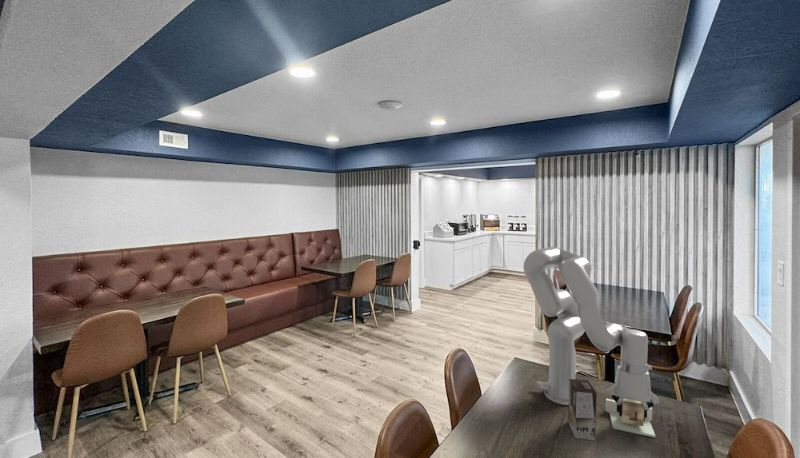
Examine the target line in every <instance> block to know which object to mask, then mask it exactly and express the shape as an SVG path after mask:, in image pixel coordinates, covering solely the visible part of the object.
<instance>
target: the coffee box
mask: <svg viewBox="0 0 800 458" xmlns="http://www.w3.org/2000/svg"><path fill="white" fill-rule="evenodd" d="M597 394H598V393H597V391H596V390H595V389H594V387H593V386H592V384H591V383H590V382H589V380H588V379H583V378H582V379H580V378H575V379H569V401H568V405H567V406H568V408H567V409H568V411H567V412H568V414H567V415H568V417H567V423H568V425H569V426H570V429H571V432H572V433H573V437H574V438H576V439H580V440H581V439H582V440H589V441H595V440H596V419H597V396H598V395H597Z"/></svg>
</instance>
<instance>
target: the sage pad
mask: <svg viewBox="0 0 800 458" xmlns="http://www.w3.org/2000/svg"><path fill="white" fill-rule="evenodd" d="M609 417H610V423H611V426H612V427H611V428H612V429H614V430H619V431H624V432H627V433H632V434H637V435H642V436H646V437H650V438H656V434H655V431H654V429H653V426H652V424H651V421H649V420H648V419H645V421H644V424H643V426H639V425H634V424H629V423H625V422H622V419H621V416H620V415H619V414H618V413H613V412H610V413H609Z"/></svg>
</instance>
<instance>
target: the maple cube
mask: <svg viewBox="0 0 800 458" xmlns="http://www.w3.org/2000/svg"><path fill="white" fill-rule="evenodd" d="M621 419H622V422H625V423H629V424H634V425H639V426H643V424H644V408H643V404H642V402H641V401H635V400H630V399H625V398H624V399H623V401H622V416H621Z"/></svg>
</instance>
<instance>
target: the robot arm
mask: <svg viewBox="0 0 800 458" xmlns="http://www.w3.org/2000/svg"><path fill="white" fill-rule="evenodd" d="M523 262H524V263H523V272H524V276H525V277H526V280H527V281H528V283H529V285H530V288H531V290H532V292H533V295H534V297H535V299H536V302H537V304H538V306H539V308H540V310H541V312H542V313H543V315H545V317H549V318H551V317H552V318H553V317H556V316H557V319H555V320H553V321H552V322H551V323H550V324H549V326H548V329H547V338H548V346H549V347H548V349H549V351H548V352H549V355H548V356H549V357H548V359H549V361H548V362H549V363H548V380H547V381H545V382H543V381H539V380H538V381H536V387H539V390H544V396H545V397H546V398H547V400H549V401H552V402H553V403H555V404H558V405H561V406H562V405H563V406H568V401H569V379H576V371H577V370H576V362H577V360H576V359H577V358H576V357H577V355H576V354H577V353H576V348H575V340H577V339H579V338H580V337H581V336H583V334H584V333H586V336H587V337H588V339H589V340H590V342H591V344H593V346H594V347H596V348H597V349H598V350H600V351H603V352H608V351H612V350H613V349H615V348H616V347H617V346H618V347H619V346H620V364H619V365H617V367H616V371H615V377H614V384H613V385H611V386H609V387H608V388H606V394H607V395H609V397H611V399H612V400H614V401H615V402H616V403H617V412H619V415H620V416H622V401H623V399H624V398H625V399H630V400H635V401H641V403H642V405H643V408H644V421H645V418H647V410H649V408H651V407H652V408H653V407H654V406H655V405H657V404H659V403H660V399H659V398H658V397H657V396H656V395H655V393H653V392H652V390H651V387H652V386H651V378H650V374H649V371H650V370H651V371H652V370H653V366H652V365H650V364H648V351H649V348H648V346H649V337H648V334H646V332H644V331H642V330H638V329H633V328H629V327H625V326H623V325H620V324H618V323H614V322H607V323H604V321H603V319H602V316H601V314H600V313H601V312H600V307H599V305H600V293H599V290H598V289H597V287H596V285H595V284H594V282H593V281H592V279H591V277H590V276H589V274H590V273H591V271H592V265H591V263H590V261H588V259H587V258H585V257H583V256H580V255H578V254H575V253H572V252H570V251H567V250H565V249H562V248H559V247H557V246H556V247H555V246H549V247H543V248H539V249H534V251H532V252H530V253H529V254H528V255H526V258H525V260H524V261H523ZM552 268H555V269H558V272H559V275H560V276H561V278H562V280H563V281H564V283H565V285H566V287H567V288H568V290H569V292H568V291H566V290H565V289H562V288H556V286H555V284H554V282H553V279H552V278H551V277H550V276H549V274H548V273H547V271H546V270H549V269H552ZM570 293H571V294H570ZM614 392H615V393H614Z"/></svg>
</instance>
